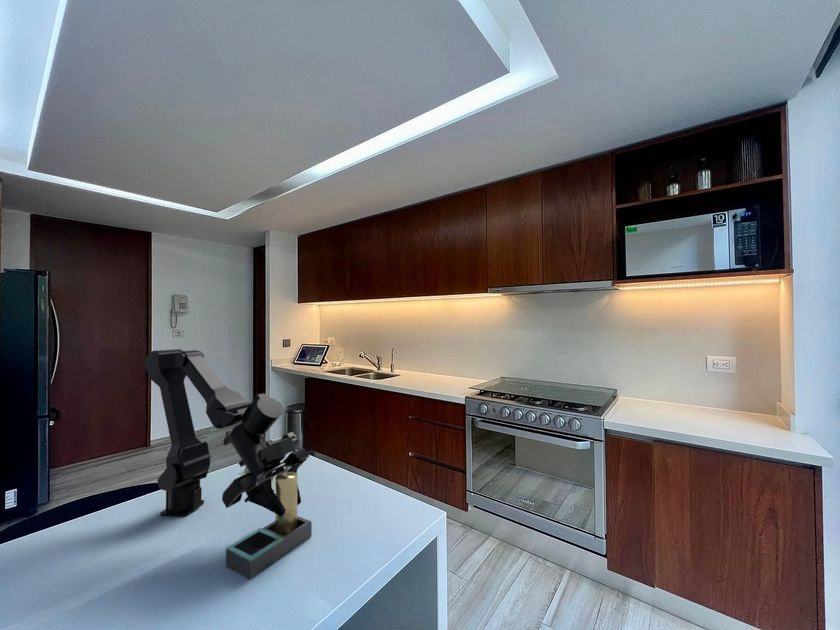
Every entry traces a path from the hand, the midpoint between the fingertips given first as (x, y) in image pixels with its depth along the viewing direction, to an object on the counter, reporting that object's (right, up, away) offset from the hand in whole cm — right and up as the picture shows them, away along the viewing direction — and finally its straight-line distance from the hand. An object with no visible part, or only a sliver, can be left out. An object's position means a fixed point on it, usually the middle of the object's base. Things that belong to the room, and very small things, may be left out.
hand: (291, 509), depth 70 cm
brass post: (-1, -7, 0) cm, 7 cm away
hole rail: (-3, -7, -3) cm, 8 cm away
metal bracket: (-18, -8, +30) cm, 36 cm away
